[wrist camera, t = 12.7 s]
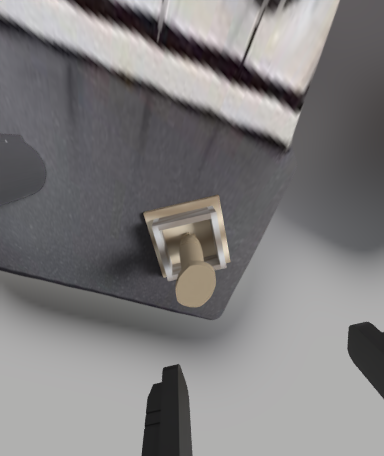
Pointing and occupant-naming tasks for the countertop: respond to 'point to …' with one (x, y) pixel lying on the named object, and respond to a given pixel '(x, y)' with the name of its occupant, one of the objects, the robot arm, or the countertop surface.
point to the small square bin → (183, 223)
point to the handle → (193, 274)
